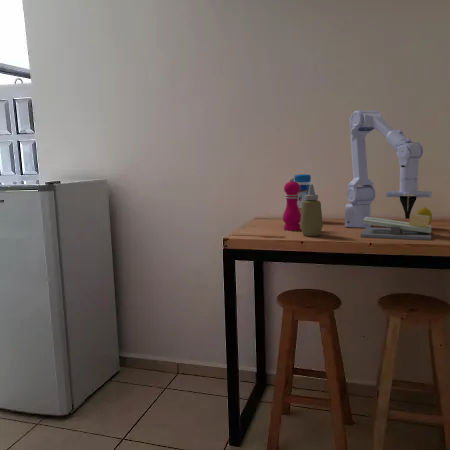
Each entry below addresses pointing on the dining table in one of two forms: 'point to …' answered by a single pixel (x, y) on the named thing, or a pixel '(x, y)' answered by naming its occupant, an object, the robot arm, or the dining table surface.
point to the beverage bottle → (302, 188)
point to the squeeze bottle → (311, 214)
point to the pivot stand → (394, 233)
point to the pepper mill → (292, 206)
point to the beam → (395, 224)
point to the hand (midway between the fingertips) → (407, 218)
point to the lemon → (425, 213)
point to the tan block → (419, 220)
